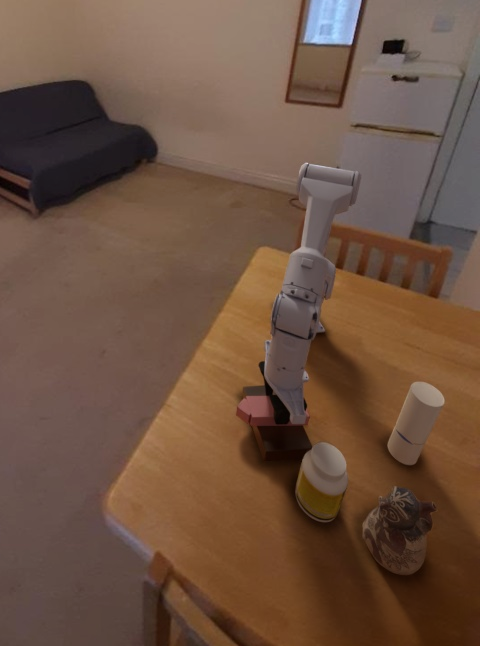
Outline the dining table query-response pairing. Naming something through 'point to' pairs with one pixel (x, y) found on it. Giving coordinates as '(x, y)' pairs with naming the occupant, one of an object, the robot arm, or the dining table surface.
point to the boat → (261, 412)
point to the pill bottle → (322, 482)
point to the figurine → (399, 531)
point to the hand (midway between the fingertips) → (276, 409)
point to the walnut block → (278, 436)
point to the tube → (415, 422)
